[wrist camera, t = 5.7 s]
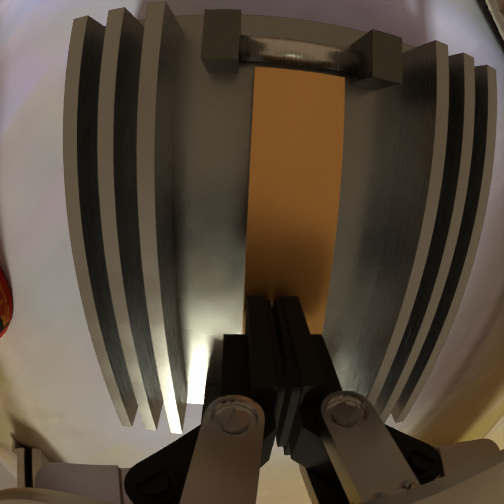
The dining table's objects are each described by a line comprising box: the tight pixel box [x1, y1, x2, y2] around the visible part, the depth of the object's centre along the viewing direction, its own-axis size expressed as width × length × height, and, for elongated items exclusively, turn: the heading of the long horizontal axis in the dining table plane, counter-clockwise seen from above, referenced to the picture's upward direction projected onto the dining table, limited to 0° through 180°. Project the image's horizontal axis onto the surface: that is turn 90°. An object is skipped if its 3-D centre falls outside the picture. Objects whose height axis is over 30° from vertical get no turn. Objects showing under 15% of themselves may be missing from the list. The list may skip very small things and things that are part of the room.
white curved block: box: [12, 440, 50, 488], centre depth 22 cm, size 17×5×10 cm, turn 0°
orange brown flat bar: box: [242, 67, 345, 335], centre depth 10 cm, size 3×12×1 cm, turn 177°
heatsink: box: [63, 1, 497, 434], centre depth 11 cm, size 14×17×6 cm
